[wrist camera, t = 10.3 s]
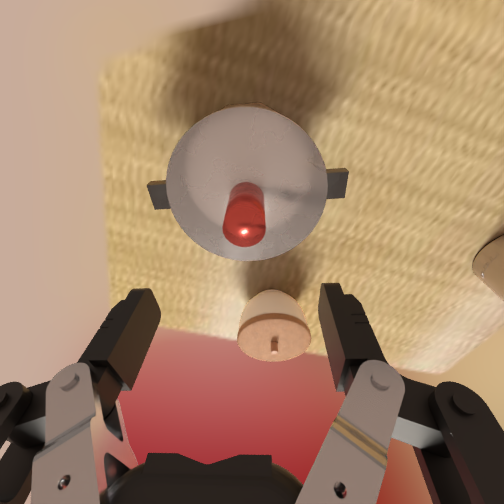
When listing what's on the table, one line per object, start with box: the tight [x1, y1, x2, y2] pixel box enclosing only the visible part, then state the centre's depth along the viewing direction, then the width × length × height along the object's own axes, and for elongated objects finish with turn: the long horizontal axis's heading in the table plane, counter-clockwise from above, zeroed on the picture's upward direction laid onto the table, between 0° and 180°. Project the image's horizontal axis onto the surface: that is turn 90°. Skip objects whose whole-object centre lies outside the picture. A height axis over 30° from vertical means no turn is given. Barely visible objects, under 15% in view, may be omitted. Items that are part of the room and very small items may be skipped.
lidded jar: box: [237, 289, 311, 361], centre depth 37 cm, size 11×11×9 cm
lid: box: [166, 106, 328, 261], centre depth 19 cm, size 14×14×7 cm
